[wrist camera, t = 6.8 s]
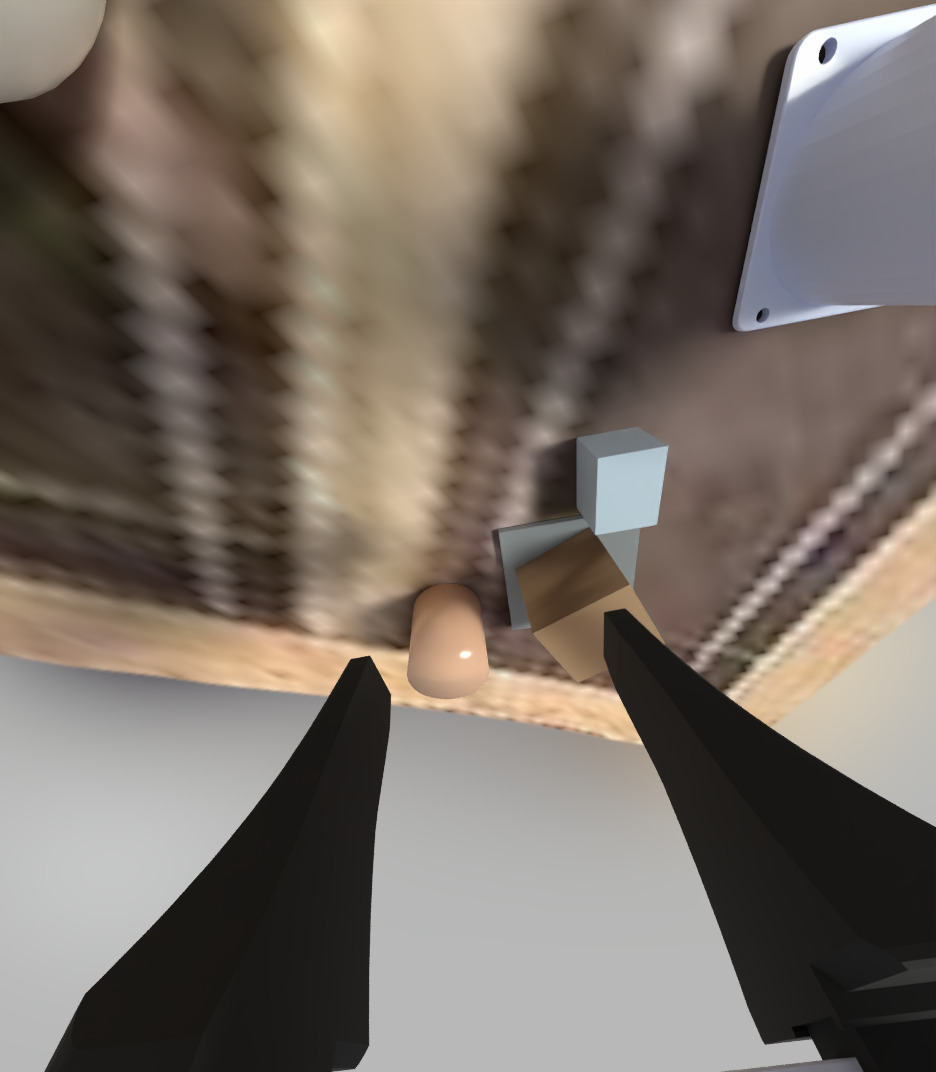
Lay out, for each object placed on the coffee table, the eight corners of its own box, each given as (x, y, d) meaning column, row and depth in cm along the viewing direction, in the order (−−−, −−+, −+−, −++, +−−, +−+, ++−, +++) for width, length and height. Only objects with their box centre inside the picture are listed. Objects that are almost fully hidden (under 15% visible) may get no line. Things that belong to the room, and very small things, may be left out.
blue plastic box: (636, 425, 18) (668, 445, 15) (629, 497, 20) (656, 524, 17) (575, 436, 18) (597, 458, 15) (575, 506, 20) (595, 535, 18)
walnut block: (591, 526, 20) (630, 584, 16) (623, 580, 23) (665, 643, 18) (515, 569, 22) (532, 633, 17) (553, 616, 24) (577, 682, 20)
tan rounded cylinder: (475, 577, 22) (483, 641, 18) (485, 626, 25) (493, 692, 20) (406, 589, 22) (397, 654, 18) (422, 636, 25) (418, 703, 21)
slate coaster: (639, 504, 20) (642, 508, 20) (627, 607, 24) (630, 611, 24) (497, 529, 20) (498, 532, 20) (511, 625, 25) (512, 630, 24)
